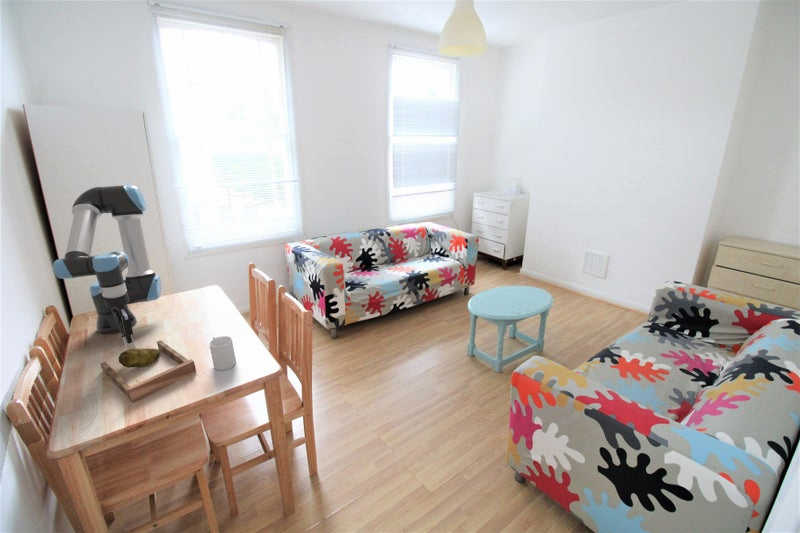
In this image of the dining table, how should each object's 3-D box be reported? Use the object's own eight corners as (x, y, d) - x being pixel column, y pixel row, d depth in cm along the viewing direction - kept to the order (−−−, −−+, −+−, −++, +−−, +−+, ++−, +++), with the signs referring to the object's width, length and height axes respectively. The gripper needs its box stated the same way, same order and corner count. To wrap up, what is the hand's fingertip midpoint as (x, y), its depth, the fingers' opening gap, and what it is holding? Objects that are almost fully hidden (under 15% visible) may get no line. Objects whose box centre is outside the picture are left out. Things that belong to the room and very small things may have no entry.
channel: (102, 371, 141) (99, 360, 139) (162, 347, 157) (159, 337, 155) (133, 402, 124) (129, 390, 122) (196, 372, 140) (193, 361, 138)
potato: (162, 365, 145) (157, 347, 142) (121, 376, 138) (116, 358, 135) (160, 355, 151) (156, 338, 148) (122, 365, 144) (117, 348, 142)
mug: (239, 364, 144) (234, 341, 141) (218, 373, 139) (213, 349, 136) (228, 352, 153) (223, 330, 149) (207, 360, 147) (202, 337, 144)
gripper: (97, 294, 141) (114, 347, 148) (109, 302, 133) (126, 358, 141) (120, 287, 146) (135, 340, 154) (133, 295, 139) (147, 350, 146)
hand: (130, 348), depth 147 cm, fingers closed
